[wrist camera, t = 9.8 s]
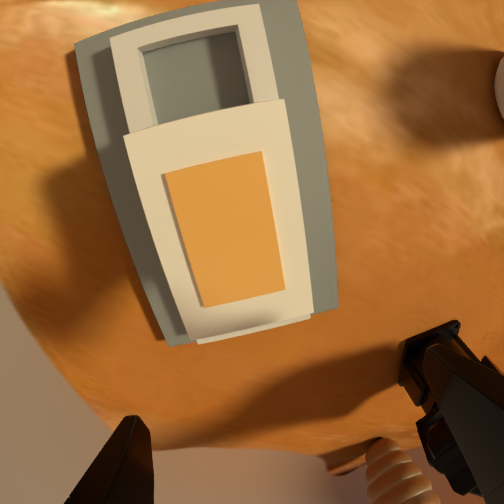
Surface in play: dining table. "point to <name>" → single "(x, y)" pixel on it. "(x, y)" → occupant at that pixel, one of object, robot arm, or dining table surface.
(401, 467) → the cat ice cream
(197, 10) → the rail panel
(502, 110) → the can
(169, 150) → the block
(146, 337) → the dining table surface
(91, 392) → the dining table surface
